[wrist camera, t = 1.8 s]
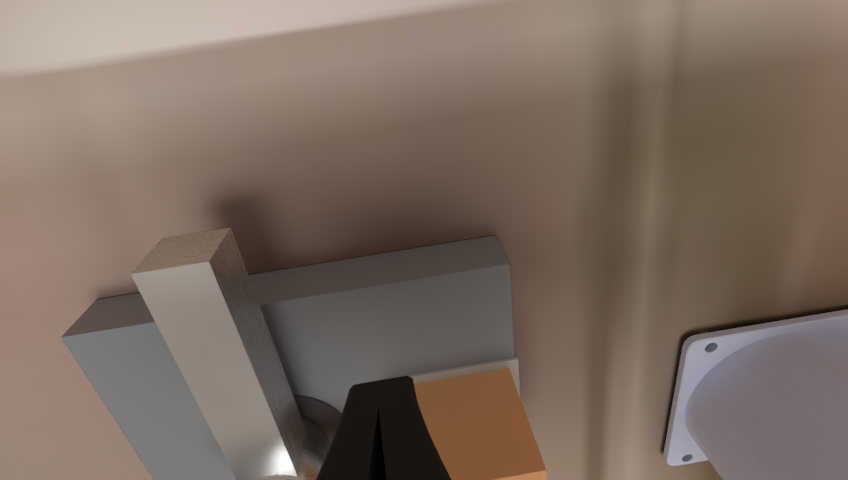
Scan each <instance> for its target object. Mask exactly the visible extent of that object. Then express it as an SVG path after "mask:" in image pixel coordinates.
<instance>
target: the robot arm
mask: <svg viewBox="0 0 848 480" xmlns="http://www.w3.org/2000/svg"><path fill="white" fill-rule="evenodd" d="M663 458H664V459H665V461H666V463H667V464H668V465H671V466H678V465H684V464H690V463H695V462H701V461H707V460H709V462H710V463H711V464H712V466H713V467H714V468H715V470H716V471H717V473H718V474H719V475H720V477H721V478H722V479H723V480H848V309H846V310H840V311H834V312H828V313H822V314H816V315H810V316H804V317H798V318H793V319H787V320H781V321H775V322H769V323H763V324H757V325H751V326H745V327H739V328H733V329H727V330H721V331H715V332H709V333H703V334H697V335H693V336H690V337H689V338H687V339H686V340H685V342H684V344H683V346H682V352H681V357H680V363H679V369H678V374H677V380H676V386H675V391H674V397H673V402H672V408H671V414H670V419H669V425H668V431H667V436H666V442H665V448H664V453H663ZM316 480H452V479H451V478H450V476H449V474H448V472H447V470H446V468H445V466H444V464H443V462H442V460H441V458H440V455H439V453H438V451H437V449H436V447H435V445H434V443H433V440H432V438H431V436H430V434H429V431H428V429H427V427H426V424H425V421H424V419H423V416H422V413H421V411H420V408H419V405H418V401H417V397H416V392H415V387H414V382H413V378H411V377H409V376H402V377H396V378H390V379H384V380H378V381H372V382H366V383H361V384H355V385H353V386H352V387H351V388H350V389H349V393H348V396H347V400H346V403H345V406H344V409H343V412H342V415H341V418H340V421H339V424H338V426H337V429H336V432H335V434H334V437H333V440H332V442H331V445H330V447H329V450H328V452H327V454H326V457H325V459H324V461H323V464H322V466H321V469H320V471H319V473H318V476H317V478H316Z"/></svg>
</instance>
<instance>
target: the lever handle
mask: <svg viewBox="0 0 848 480" xmlns="http://www.w3.org/2000/svg"><path fill="white" fill-rule="evenodd" d="M131 276H132V278H133V280H134V282H135V284H136V286H137V288H138V289H139V291H140V293H141V295H142V297H143V299H144V301H145V303H146V305H147V307H148V309H149V311H150V313H151V315H152V317H153V319H154V320H155V322H156V324H157V326H158V328H159V330H160V332H161V334H162V336H163V338H164V340H165V342H166V344H167V346H168V348H169V350H170V352H171V353H172V355H173V357H174V359H175V361H176V363H177V365H178V367H179V369H180V371H181V373H182V375H183V377H184V379H185V381H186V383H187V384H188V386H189V388H190V390H191V392H192V394H193V396H194V398H195V400H196V402H197V404H198V406H199V408H200V410H201V412H202V414H203V416H204V417H205V419H206V421H207V423H208V425H209V427H210V429H211V431H212V433H213V435H214V437H215V439H216V441H217V443H218V445H219V447H220V448H221V450H222V452H223V454H224V456H225V458H226V460H227V462H228V464H229V466H230V468H231V470H232V472H233V474H234V476H235V478H236V479H237V480H316V478H317V476H318V473H319V471H320V469H321V466H322V464H323V461H324V459H325V457H326V454H327V452H328V450H329V439H328V437H327V435H326V433H325V432H324V431H323V430H322V429H321V428H320V427H319V426H317V425H316V424H314V423H312V422H309V421H307V420H303V419H302V418H301V415H300V413H299V410H298V407H297V405H296V402H295V399H294V397H293V394H292V391H291V389H290V386H289V383H288V380H287V378H286V375H285V372H284V370H283V367H282V364H281V362H280V359H279V356H278V354H277V351H276V348H275V346H274V343H273V340H272V337H271V335H270V332H269V329H268V327H267V324H266V321H265V319H264V316H263V313H262V311H261V308H260V305H259V302H258V300H257V297H256V294H255V292H254V289H253V286H252V284H251V281H250V278H249V276H248V273H247V270H246V267H245V265H244V262H243V259H242V257H241V254H240V251H239V249H238V246H237V243H236V241H235V238H234V235H233V233H232V230H231V227H230V228H224V229H218V230H212V231H205V232H199V233H193V234H186V235H180V236H174V237H168V238H163V239H162V240H161V241H160V242H159V243H158V244H157V245H156V246H155V247H154V249H153V250H152V251H151V252H150V253H149V254H148V255H147V256H146V258H145V259H144V260H143V261H142V262H141V263H140V264H139V265H138V267H137V268H136V269H135V270H134V271H133V272H132V273H131Z"/></svg>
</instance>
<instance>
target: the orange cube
mask: <svg viewBox="0 0 848 480" xmlns="http://www.w3.org/2000/svg"><path fill="white" fill-rule="evenodd" d="M414 387H415V392H416V397H417V401H418V405H419V408H420V411H421V413H422V416H423V419H424V421H425V424H426V427H427V429H428V431H429V434H430V436H431V438H432V440H433V443H434V445H435V447H436V449H437V451H438V453H439V455H440V458H441V460H442V462H443V464H444V466H445V468H446V470H447V472H448V474H449V476H450V478H451V479H452V480H546V468H545V465H544V463H543V460H542V457H541V454H540V452H539V449H538V446H537V444H536V441H535V438H534V435H533V433H532V430H531V427H530V424H529V422H528V419H527V416H526V413H525V411H524V408H523V405H522V402H521V400H520V397H519V394H518V391H517V389H516V386H515V383H514V380H513V378H512V375H511V372H510V369H509V368H507V369H501V370H495V371H489V372H484V373H478V374H472V375H466V376H460V377H454V378H448V379H442V380H436V381H430V382H424V383H418V384H414Z"/></svg>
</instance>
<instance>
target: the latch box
mask: <svg viewBox="0 0 848 480" xmlns="http://www.w3.org/2000/svg"><path fill="white" fill-rule="evenodd" d="M248 276H249V278H250V281H251V284H252V286H253V289H254V292H255V294H256V297H257V300H258V302H259V305H260V308H261V311H262V313H263V316H264V319H265V321H266V324H267V327H268V329H269V332H270V335H271V337H272V340H273V343H274V346H275V348H276V351H277V354H278V356H279V359H280V362H281V364H282V367H283V370H284V372H285V375H286V378H287V380H288V383H289V386H290V389H291V391H292V394H293V397H294V399H295V402H296V405H297V407H298V410H299V413H300V415H301V418H302V419H303V420H307V421H309V422H312V423H314V424H316V425H317V426H319V427H320V428H321V429H322V430H323V431H324V432H325V433H326V435H327V437H328V439H329V447H330V445H331V442H332V440H333V437H334V434H335V432H336V429H337V426H338V424H339V421H340V418H341V415H342V412H343V409H344V406H345V403H346V400H347V396H348V393H349V389H350V388H351V387H352V386H353V385H355V384H361V383H366V382H372V381H378V380H384V379H390V378H396V377H402V376H409V377H411V378H413V382H414V384H418V383H424V382H430V381H436V380H442V379H448V378H454V377H460V376H466V375H472V374H478V373H484V372H489V371H495V370H501V369H507V368H509V369H510V372H511V375H512V378H513V380H514V383H515V386H516V389H517V391H518V394H519V397H520V383H519V361H518V357H516V358H515V350H514V330H513V310H512V289H511V269H510V263H509V261H508V259H507V257H506V255H505V253H504V251H503V249H502V247H501V245H500V243H499V241H498V239H497V237H496V235H493V236H487V237H481V238H475V239H468V240H462V241H456V242H450V243H444V244H438V245H431V246H425V247H419V248H413V249H407V250H400V251H394V252H388V253H382V254H376V255H370V256H363V257H357V258H351V259H345V260H339V261H332V262H326V263H320V264H314V265H308V266H302V267H295V268H289V269H283V270H277V271H271V272H264V273H258V274H252V275H248ZM61 338H62V340H63V341H64V343H65V344H66V346H67V347H68V349H69V350H70V352H71V353H72V355H73V356H74V358H75V360H76V361H77V363H78V364H79V366H80V367H81V369H82V370H83V372H84V373H85V375H86V376H87V378H88V379H89V381H90V383H91V384H92V386H93V387H94V389H95V390H96V392H97V393H98V395H99V396H100V398H101V399H102V401H103V402H104V404H105V406H106V407H107V409H108V410H109V412H110V413H111V415H112V416H113V418H114V419H115V421H116V422H117V424H118V425H119V427H120V429H121V430H122V432H123V433H124V435H125V436H126V438H127V439H128V441H129V442H130V444H131V445H132V447H133V449H134V450H135V452H136V453H137V455H138V456H139V458H140V459H141V461H142V462H143V464H144V465H145V467H146V468H147V470H148V472H149V473H150V475H151V476H152V478H153V479H154V480H237V479H236V478H235V476H234V474H233V472H232V470H231V468H230V466H229V464H228V462H227V460H226V458H225V456H224V454H223V452H222V450H221V448H220V447H219V445H218V443H217V441H216V439H215V437H214V435H213V433H212V431H211V429H210V427H209V425H208V423H207V421H206V419H205V417H204V416H203V414H202V412H201V410H200V408H199V406H198V404H197V402H196V400H195V398H194V396H193V394H192V392H191V390H190V388H189V386H188V384H187V383H186V381H185V379H184V377H183V375H182V373H181V371H180V369H179V367H178V365H177V363H176V361H175V359H174V357H173V355H172V353H171V352H170V350H169V348H168V346H167V344H166V342H165V340H164V338H163V336H162V334H161V332H160V330H159V328H158V326H157V324H156V322H155V320H154V319H153V317H152V315H151V313H150V311H149V309H148V307H147V305H146V303H145V301H144V299H143V297H142V295H141V293H135V294H128V295H122V296H116V297H110V298H104V299H97V300H95V302H94V303H93V304H92V305H91V306H90V307H89V308H88V309H87V310H86V311H85V312H84V313H83V314H82V315H81V317H80V318H79V319H78V320H77V321H76V322H75V323H74V324H73V325H72V326H71V327H70V328H69V329H68V330H67V332H66V333H65V334H64V335H63V336H62V337H61Z"/></svg>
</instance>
